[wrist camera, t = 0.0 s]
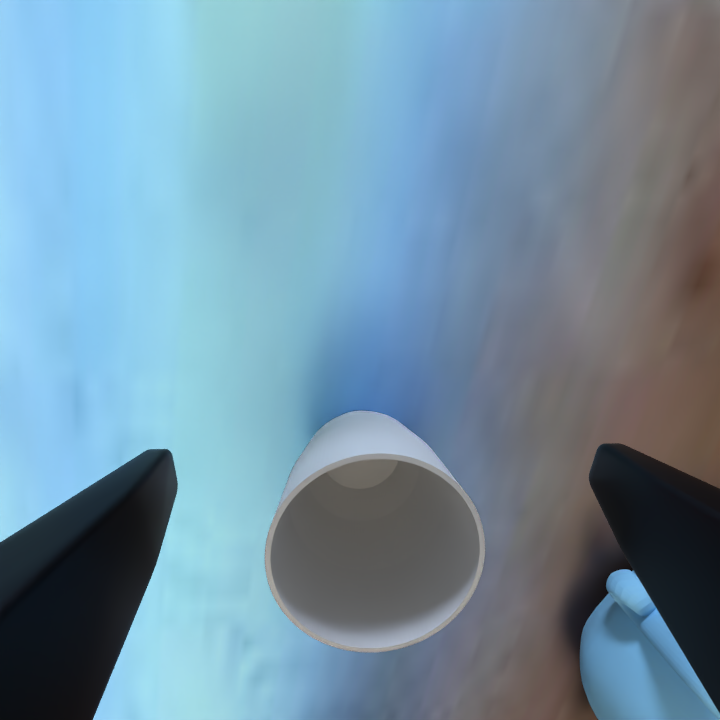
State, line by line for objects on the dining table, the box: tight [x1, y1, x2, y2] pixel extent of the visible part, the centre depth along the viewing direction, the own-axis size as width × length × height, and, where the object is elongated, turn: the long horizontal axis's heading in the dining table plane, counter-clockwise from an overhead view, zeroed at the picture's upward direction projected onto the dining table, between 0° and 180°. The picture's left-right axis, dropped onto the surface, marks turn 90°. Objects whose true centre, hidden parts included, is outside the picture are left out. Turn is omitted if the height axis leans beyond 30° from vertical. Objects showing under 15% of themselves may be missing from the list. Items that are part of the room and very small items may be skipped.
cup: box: [265, 411, 485, 652], centre depth 20 cm, size 8×8×10 cm
